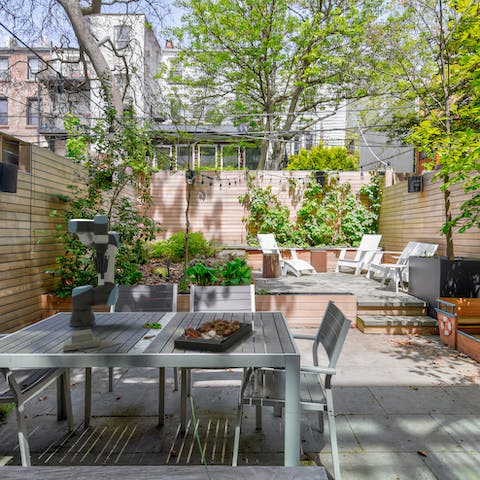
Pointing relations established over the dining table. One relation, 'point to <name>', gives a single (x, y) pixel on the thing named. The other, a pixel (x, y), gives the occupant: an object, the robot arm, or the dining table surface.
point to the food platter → (213, 336)
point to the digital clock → (81, 340)
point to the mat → (100, 346)
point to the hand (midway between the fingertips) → (101, 284)
